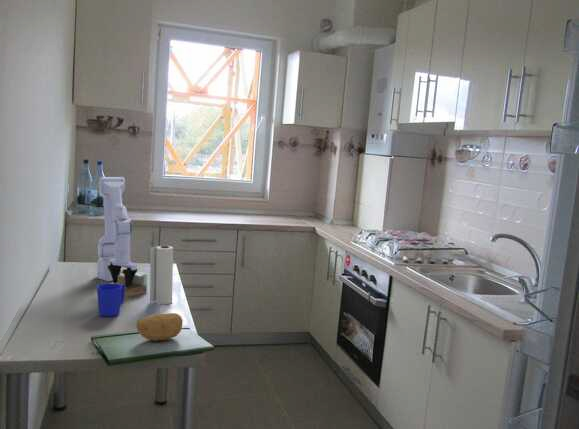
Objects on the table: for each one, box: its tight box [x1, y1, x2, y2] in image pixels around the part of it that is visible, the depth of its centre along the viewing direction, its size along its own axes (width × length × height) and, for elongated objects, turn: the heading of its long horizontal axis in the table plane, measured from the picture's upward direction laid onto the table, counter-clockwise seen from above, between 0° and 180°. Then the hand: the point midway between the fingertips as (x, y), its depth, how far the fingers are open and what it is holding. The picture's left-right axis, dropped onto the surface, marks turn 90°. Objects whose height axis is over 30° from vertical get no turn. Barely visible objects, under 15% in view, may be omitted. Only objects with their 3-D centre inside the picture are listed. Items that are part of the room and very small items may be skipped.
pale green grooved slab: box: [120, 269, 148, 288], centre depth 217 cm, size 12×4×8 cm, turn 55°
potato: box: [135, 312, 184, 342], centre depth 167 cm, size 10×14×8 cm
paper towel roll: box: [149, 245, 174, 305], centre depth 203 cm, size 7×6×21 cm
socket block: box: [108, 282, 148, 299], centre depth 214 cm, size 12×12×3 cm
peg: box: [118, 274, 126, 287], centre depth 213 cm, size 4×4×7 cm
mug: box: [96, 282, 125, 318], centre depth 190 cm, size 8×12×10 cm
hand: (122, 284), depth 213 cm, fingers open, 7 cm apart
